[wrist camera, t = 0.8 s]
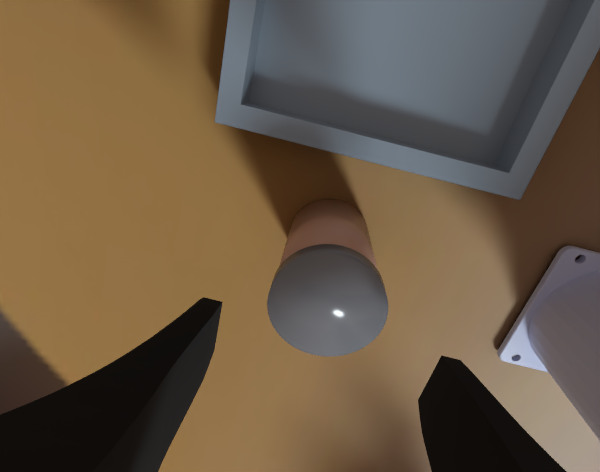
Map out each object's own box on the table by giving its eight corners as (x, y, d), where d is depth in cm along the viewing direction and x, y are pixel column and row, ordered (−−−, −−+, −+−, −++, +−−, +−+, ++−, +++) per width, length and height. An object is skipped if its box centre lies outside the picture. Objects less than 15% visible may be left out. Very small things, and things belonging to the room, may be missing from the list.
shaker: (381, 208, 19) (405, 273, 12) (355, 279, 21) (366, 367, 14) (298, 187, 19) (281, 242, 12) (280, 261, 21) (257, 340, 14)
